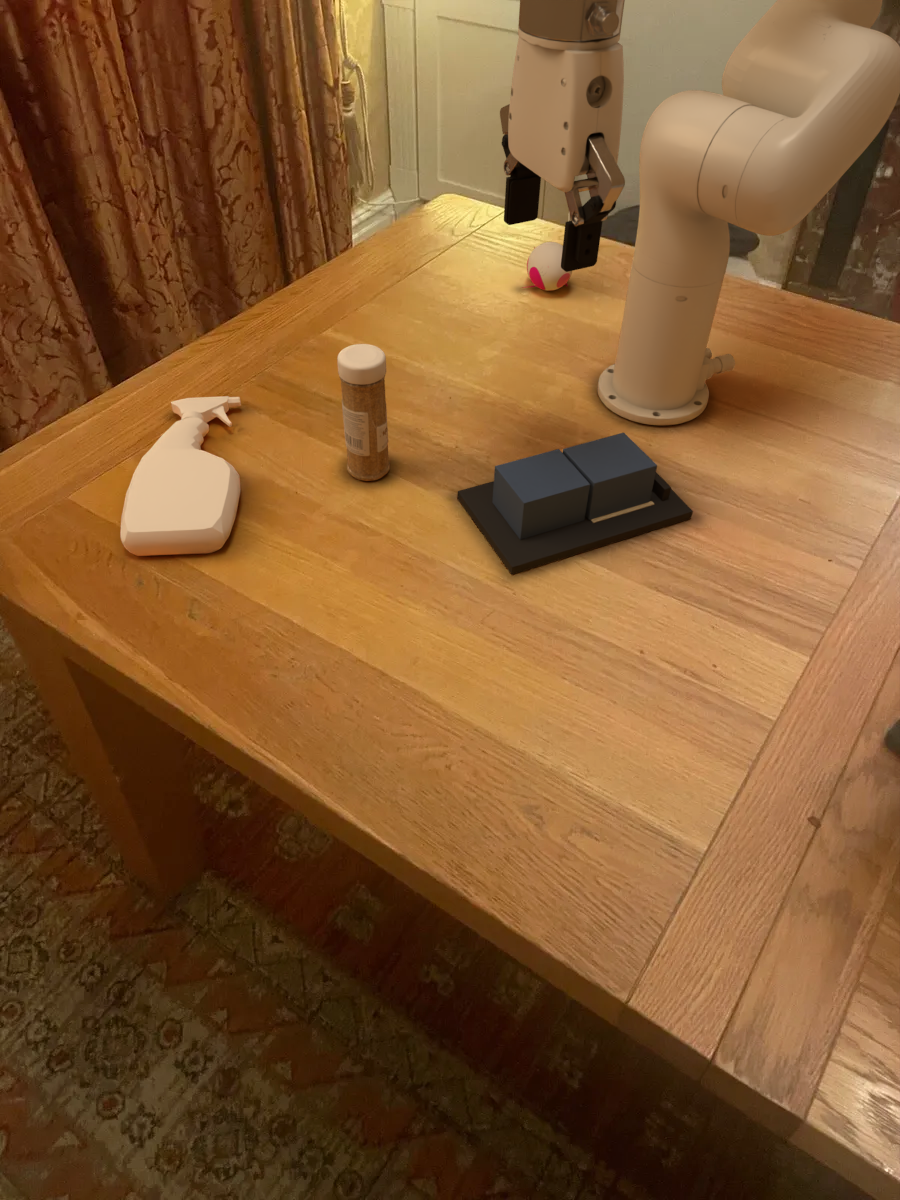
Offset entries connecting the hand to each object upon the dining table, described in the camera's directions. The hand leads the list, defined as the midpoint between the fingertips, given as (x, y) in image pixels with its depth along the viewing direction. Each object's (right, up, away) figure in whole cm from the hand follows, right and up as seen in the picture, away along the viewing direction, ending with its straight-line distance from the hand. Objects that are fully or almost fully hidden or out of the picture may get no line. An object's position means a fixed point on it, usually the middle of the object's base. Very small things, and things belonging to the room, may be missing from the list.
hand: (548, 243), depth 78 cm
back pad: (+7, -20, +12) cm, 25 cm away
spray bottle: (-35, -18, +15) cm, 42 cm away
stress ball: (+4, +11, +45) cm, 46 cm away
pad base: (+4, -22, +12) cm, 25 cm away
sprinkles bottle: (-17, -17, +16) cm, 29 cm away
